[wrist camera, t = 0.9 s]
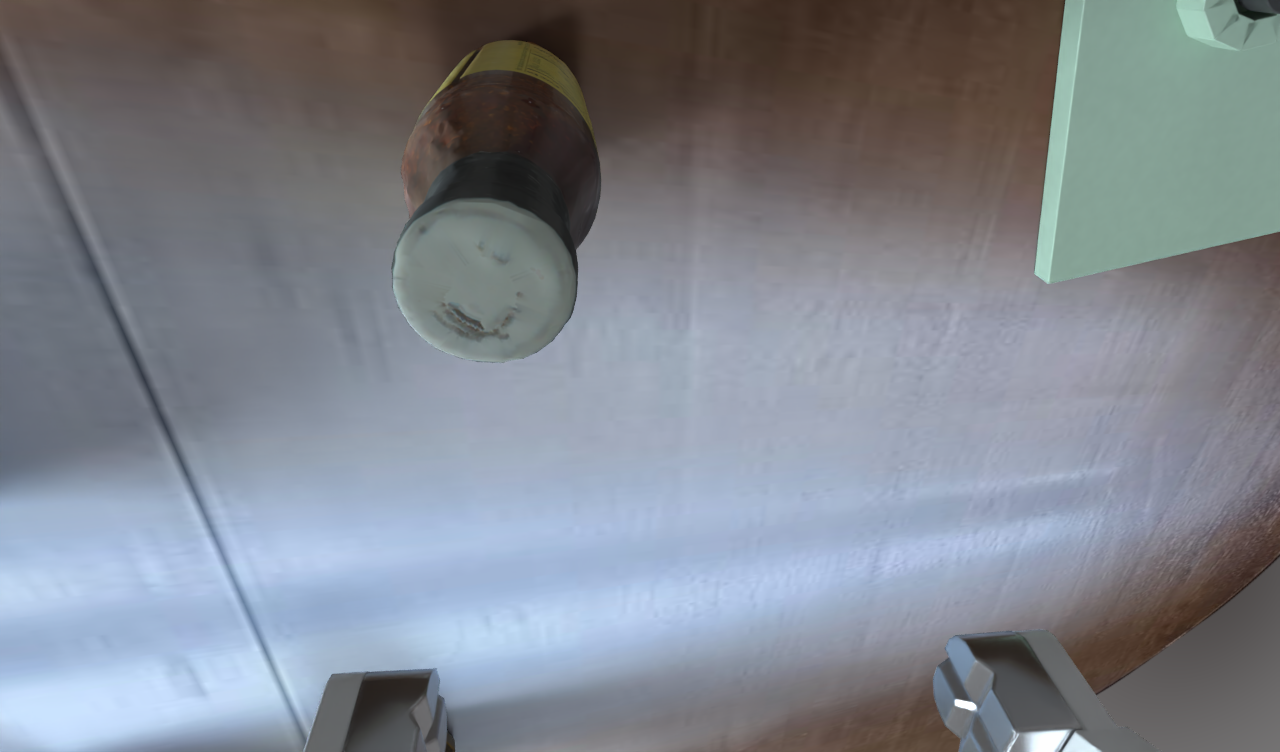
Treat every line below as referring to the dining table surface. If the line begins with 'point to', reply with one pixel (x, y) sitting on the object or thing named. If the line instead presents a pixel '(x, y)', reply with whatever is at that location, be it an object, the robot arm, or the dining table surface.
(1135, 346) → the dining table surface
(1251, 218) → the green panel with knob
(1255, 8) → the button
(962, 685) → the robot arm
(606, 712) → the dining table surface
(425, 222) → the sauce bottle
